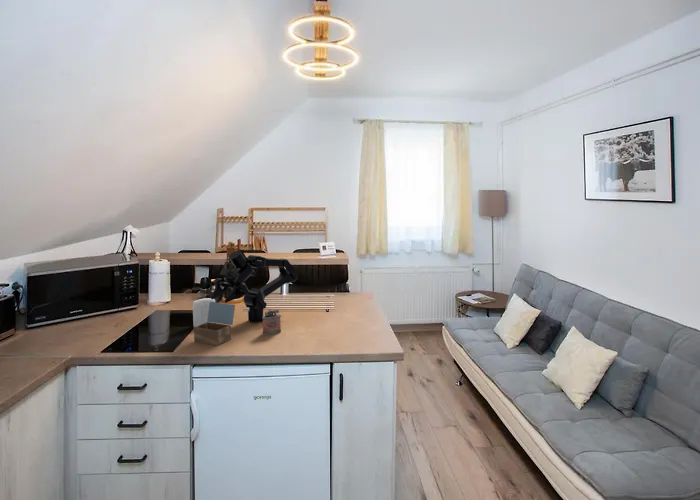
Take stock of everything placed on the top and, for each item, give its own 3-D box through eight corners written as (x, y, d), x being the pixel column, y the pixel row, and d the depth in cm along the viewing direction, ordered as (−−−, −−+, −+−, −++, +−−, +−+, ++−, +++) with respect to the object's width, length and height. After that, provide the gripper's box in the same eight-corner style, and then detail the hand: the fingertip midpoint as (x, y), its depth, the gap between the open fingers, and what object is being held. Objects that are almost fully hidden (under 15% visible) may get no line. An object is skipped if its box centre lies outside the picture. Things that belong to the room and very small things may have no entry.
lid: (207, 321, 178) (208, 321, 179) (231, 324, 174) (232, 324, 174) (209, 301, 179) (211, 302, 180) (233, 304, 174) (235, 304, 175)
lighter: (263, 335, 179) (263, 312, 178) (261, 333, 182) (261, 310, 181) (282, 332, 183) (281, 309, 182) (279, 330, 186) (279, 308, 185)
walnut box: (208, 335, 179) (207, 322, 178) (231, 339, 174) (230, 325, 174) (194, 341, 172) (193, 327, 171) (217, 345, 167) (217, 331, 166)
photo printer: (215, 321, 198) (214, 296, 197) (217, 324, 195) (216, 298, 193) (192, 325, 193) (191, 299, 191) (194, 328, 189) (193, 301, 188)
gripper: (219, 260, 192) (195, 284, 183) (246, 264, 181) (222, 289, 172) (231, 278, 198) (208, 302, 189) (258, 283, 187) (235, 308, 178)
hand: (218, 300), depth 182 cm, fingers open, 9 cm apart
